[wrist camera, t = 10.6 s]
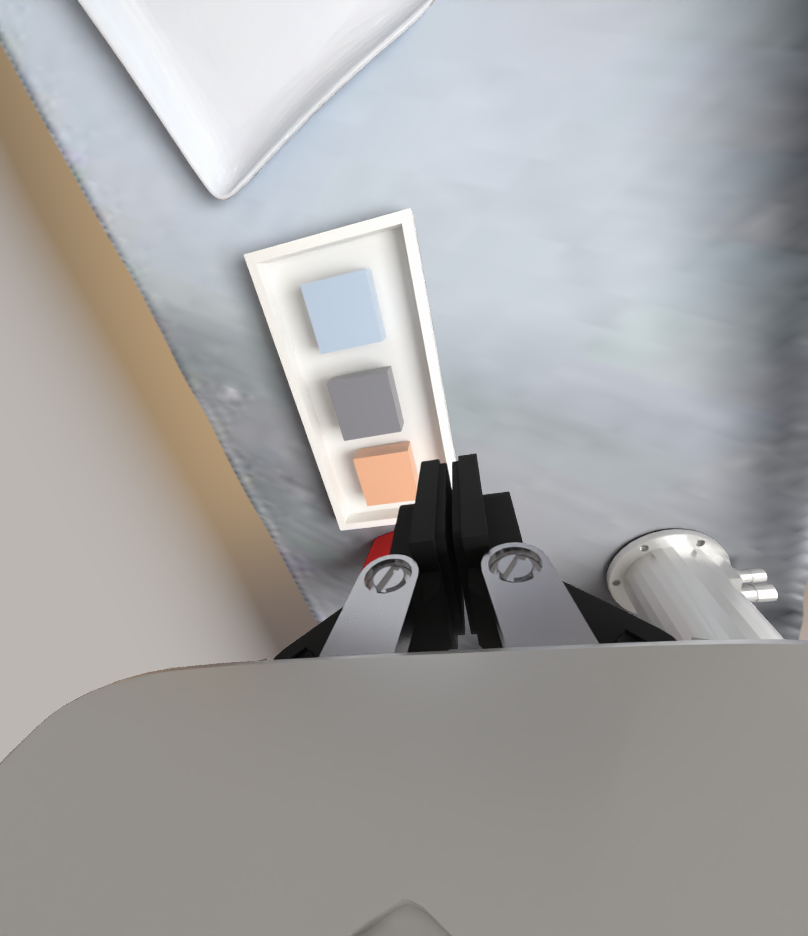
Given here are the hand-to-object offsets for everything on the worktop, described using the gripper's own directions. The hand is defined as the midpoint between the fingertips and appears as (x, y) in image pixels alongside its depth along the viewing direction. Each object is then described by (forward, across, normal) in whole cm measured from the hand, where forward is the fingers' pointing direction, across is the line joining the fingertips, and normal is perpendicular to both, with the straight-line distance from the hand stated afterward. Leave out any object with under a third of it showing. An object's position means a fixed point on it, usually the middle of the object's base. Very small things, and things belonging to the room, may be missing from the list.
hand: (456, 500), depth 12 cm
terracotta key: (+26, +8, +11) cm, 29 cm away
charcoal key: (+25, +8, +3) cm, 26 cm away
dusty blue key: (+26, +8, -5) cm, 28 cm away
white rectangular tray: (+27, +8, +3) cm, 29 cm away
